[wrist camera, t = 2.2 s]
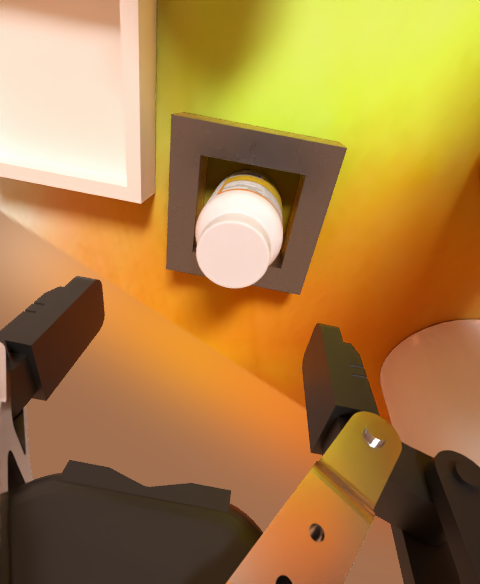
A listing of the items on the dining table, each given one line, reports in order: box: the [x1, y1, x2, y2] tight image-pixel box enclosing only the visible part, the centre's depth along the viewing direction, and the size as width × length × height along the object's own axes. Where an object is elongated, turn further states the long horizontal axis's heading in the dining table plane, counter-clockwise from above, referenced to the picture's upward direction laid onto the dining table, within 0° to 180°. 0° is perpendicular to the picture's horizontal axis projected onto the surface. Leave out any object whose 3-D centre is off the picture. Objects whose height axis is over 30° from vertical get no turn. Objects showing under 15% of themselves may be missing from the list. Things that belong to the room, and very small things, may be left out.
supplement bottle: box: [195, 170, 283, 288], centre depth 20 cm, size 5×5×10 cm
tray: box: [0, 0, 157, 204], centre depth 20 cm, size 13×13×3 cm
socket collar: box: [166, 112, 347, 295], centre depth 23 cm, size 11×11×3 cm
